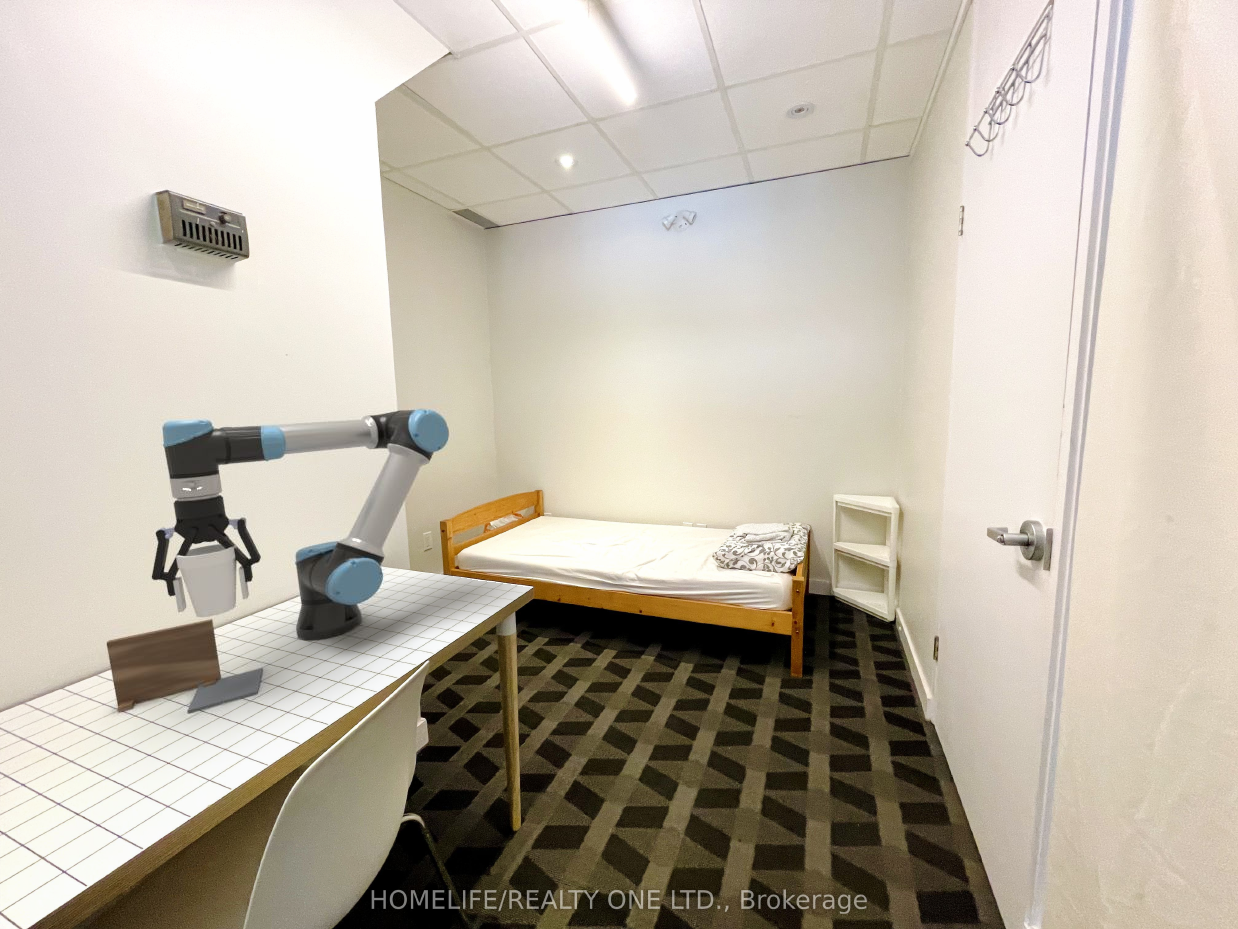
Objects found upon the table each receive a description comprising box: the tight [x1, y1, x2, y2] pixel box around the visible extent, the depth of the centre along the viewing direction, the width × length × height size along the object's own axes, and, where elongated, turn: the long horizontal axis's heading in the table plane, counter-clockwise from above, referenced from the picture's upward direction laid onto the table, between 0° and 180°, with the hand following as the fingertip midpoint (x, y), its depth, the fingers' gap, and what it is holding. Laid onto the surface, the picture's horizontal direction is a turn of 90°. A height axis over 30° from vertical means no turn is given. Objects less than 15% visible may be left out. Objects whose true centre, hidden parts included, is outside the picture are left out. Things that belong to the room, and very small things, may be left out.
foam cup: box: [175, 543, 238, 618], centre depth 97 cm, size 10×9×13 cm
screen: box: [106, 618, 222, 714], centre depth 99 cm, size 5×16×14 cm, turn 122°
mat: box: [186, 667, 264, 714], centre depth 100 cm, size 11×11×1 cm
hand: (215, 603), depth 98 cm, fingers closed on foam cup, 9 cm apart
